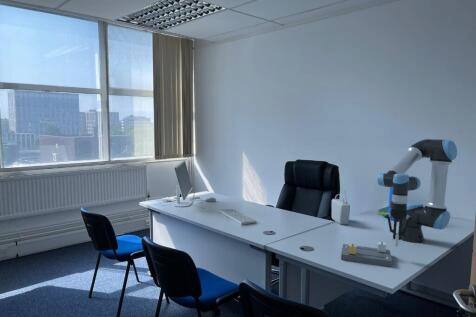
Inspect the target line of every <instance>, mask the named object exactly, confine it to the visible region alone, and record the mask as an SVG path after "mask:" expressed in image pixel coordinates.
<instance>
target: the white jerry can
mask: <svg viewBox="0 0 476 317" xmlns="http://www.w3.org/2000/svg"><path fill="white" fill-rule="evenodd" d="M343 192H344V196H345V200H344V198H343V196H342V194H339V193H338V194H336V195H335V197H334V198H332V199H331V220H334V222H336V223H337V224H338V225H341V226H342V225H343V226H344V225H346V226H347V225H349V221H350V215H351V214H350V213H351V205H350V204H349V203H348V200H347V193H346V190H345V189H344V190H343ZM338 195H339V196H340V198H341V199H340V198H337V197H338Z"/></svg>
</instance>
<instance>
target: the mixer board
mask: <svg viewBox="0 0 476 317" xmlns="http://www.w3.org/2000/svg"><path fill="white" fill-rule="evenodd" d="M348 248H349V244H347V243H346V244H345V243H342V249H341V253H340V260H341V261H348V262H354V263H360V264H361V263H362V264H368V265H377V266H385V267H390V268H393V259H392V254H391V250H390V249H386V252H379V251H378V250H377V247H370V246H361V245H357V247H356V255H355V254H348Z"/></svg>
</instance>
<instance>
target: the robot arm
mask: <svg viewBox="0 0 476 317" xmlns="http://www.w3.org/2000/svg"><path fill="white" fill-rule="evenodd" d="M457 155H458V148H457V145H456V143H455V141H453V140H449V139H433V138H432V139H431V138H429V139H428V138H426V139H421V140H419V141H417V142H414V143H413V144H412V145H411V146H409V147H408V148H407V150H406V153H405V154H404V155H403V156H402V157H401V158H400V159H398V161H397V162H396V163H395V164H394V165H393V166H392V167H391V168H390V169H389V170H388V171H387V172H386V173H385V172H384V173H382V172H381V173H379V174H378V175H377V178H376V181H377V185H379V186H381V187H385V188H390V187H391V188H393V192H392V205H391V211H390V213H388V212H387V213H385V217H386V219H387V222H388V223H387V224H388V228H389V232H390V233H392V240H394V247H399V241H401V240H402V241H405V242H409V243H422V242H424V241H425V240H424V239H425V238H424V237H425V236H424V232H423V229H422V227H427V228H432V229H434V230H444V229H446V228H447V227H448V225H449V222H450V219H451V212H449V210H447V209H448V207H447V206H446V205H445V202H446V201H445V200H446V193H447V191H446V190H447V182H448V181H447V180H448V174H449V166H450V165H451V164H452V163H453V161H454V160H456V158H457ZM424 158H427V159H429V162H430V163H431V172H430V180H429V182H430V183H429V193H428V201H427V203H425V205H424V204H423V203H421V202H419V203H418V202H408V194H409V192H410V191H415V190H418V189H419V188H420V187H421V180H420V178H418V177H417V176H414V175H413V176H412V175H410V176H409V175H408V174H406V172H408V171H409V169H410V168H412V166H413V165H414V164H415V163H417V161H420V160H422V159H424ZM390 215H392V217H393V218H394V221H393V227H392V222H391V221H392V220H390V217H391V216H390ZM397 220H399V221H397ZM397 224H398V225H397ZM397 226H398V230H397ZM397 231H398V232H397Z"/></svg>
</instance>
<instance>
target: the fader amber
mask: <svg viewBox="0 0 476 317" xmlns="http://www.w3.org/2000/svg"><path fill="white" fill-rule="evenodd" d="M348 245H349V248H348V254H355V255H356V247H357V246H358V245H357V244H355V243H348Z"/></svg>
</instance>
